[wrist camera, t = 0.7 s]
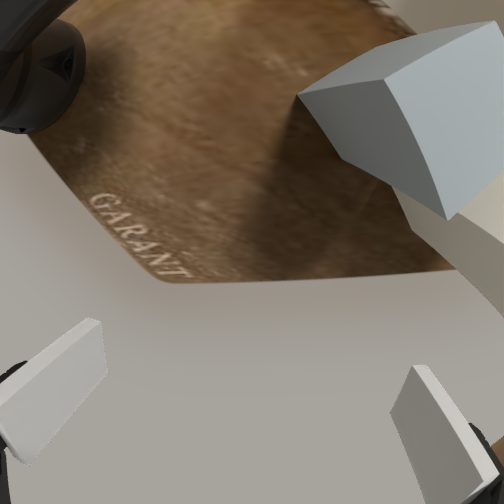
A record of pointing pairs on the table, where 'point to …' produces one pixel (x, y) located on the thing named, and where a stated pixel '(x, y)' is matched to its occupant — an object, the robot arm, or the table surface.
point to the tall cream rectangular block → (468, 237)
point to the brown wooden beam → (499, 449)
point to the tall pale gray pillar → (421, 113)
